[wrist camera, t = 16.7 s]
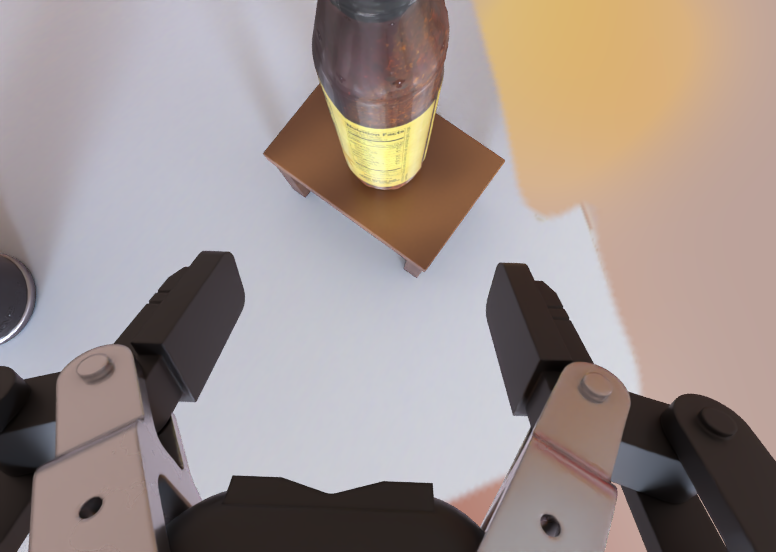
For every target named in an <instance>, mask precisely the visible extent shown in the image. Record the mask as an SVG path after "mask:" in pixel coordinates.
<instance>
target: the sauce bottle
mask: <svg viewBox="0 0 776 552" xmlns="http://www.w3.org/2000/svg"><path fill="white" fill-rule="evenodd" d="M448 40H449V21H448V11H447V9H446V7H445V1H444V0H318V1H317V8H316V15H315V22H314V30H313V37H312V53H313V60H314V64H315V68H316V72H317V75H318V78H319V81H320V84H321V86H322V91H323V93H324V95H325V99H326V102H327V105H328V109H329V112H330V114H331V117H332V120H333V123H334V126H335V130H336V132H337V135H338V138H339V141H340V144H341V147H342V150H343V153H344V156H345V159H346V161H347V164H348V166H349V168H350V169H351V170H352V172H353V173H354V174H355V175H356V176H357V177H358V178H359V179H360V180H361V181H362V182H363V183H364V184H365V185H367V186H369V187H373V188H376V189H383V190H389V189H398V188H400V187H402V186H403V185H405V184H407V183H408V182H409V181H410V180H411V179H412V178H413V177H414V176H415V175H416V174H417V173H418V172H419V170H420V169H421V167H422V163H423V161H424V159H425V156H426V153H427V149H428V144H429V140H430V135H431V131H432V127H433V121H434V117H435V113H436V108H437V104H438V99H439V94H440V90H441V85H442V81H443V75H444V61H445V59H446V52H447V48H448Z"/></svg>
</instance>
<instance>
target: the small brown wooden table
mask: <svg viewBox="0 0 776 552" xmlns="http://www.w3.org/2000/svg"><path fill="white" fill-rule="evenodd" d="M263 154H264V156H265V157H266V158H267V159H268V160H269V161H270V162H271V163H273V164H274V165H276V166H277V168H278V169H279V170H280V172H281V173H282V174H283V176H284V177H285V178H286V180H287V181H288V182H289V184H290V185H291V186H292V188H293V189H294V190H295V191H297V192H298V193H300V194H301V195H302V196H304V197H306V196H307V195H308V194H309V192H310V191H312V192H313V193H314V194H316V195H317V196H319V197H320V198H321V199H323V200H324V201H325V202H327V203H328V204H330V205H331V206H332V207H334V208H335V209H337V210H338V211H339V212H341V213H342V214H344V215H345V216H346V217H348V218H349V219H350V220H352V221H353V222H355V223H356V224H357V225H359V226H360V227H362V228H363V229H364V230H366V231H367V232H369V233H370V234H371V235H373V236H374V237H375V238H377V239H378V240H380V241H381V242H382V243H384V244H385V245H387V246H388V247H389V248H391V249H392V250H394V251H395V252H396V253H398V254H399V255H400V256H402V257H403V258H405V259H406V260H407V261H406V264H405V267H404V269H405V270H406V271H408V272H409V273H410V274H412V275H413V276H414V277H416V278H417V277H418V276H419V274H420V273H421V272H422V271H423V272H425V271H426V270H427V268H428V267H429V266H430V264H431V263H432V261H433V260H434V259H435V257H436V256H437V255H438V253H439V252H440V250H441V249H442V248H443V246H444V245H445V243H446V242H447V241H448V239H449V238H450V237H451V235H452V234H453V232H454V231H455V230H456V228H457V227H458V226H459V224H460V223H461V221H462V220H463V219H464V217H465V216H466V215H467V213H468V212H469V210H470V209H471V208H472V206H473V205H474V204H475V202H476V201H477V199H478V198H479V197H480V195H481V194H482V192H483V191H484V190H485V188H486V187H487V186H488V184H489V183H490V181H491V180H492V179H493V177H494V176H495V175H496V173H497V172H498V170H499V169H500V168H501V166H502V165H503V164H504V162H505V160H504V159H503V158H501V157H500V156H498V155H497V154H495V153H494V152H492V151H491V150H489V149H488V148H486V147H485V146H484V145H482V144H481V143H479V142H478V141H476V140H475V139H473V138H472V137H470V136H469V135H467V134H466V133H464V132H463V131H462V130H460V129H459V128H457V127H456V126H454V125H453V124H451V123H450V122H448V121H447V120H445V119H444V118H442V117H441V116H439V115H438V114H437V113H435V117H434V121H433V127H432V131H431V135H430V140H429V144H428V149H427V153H426V156H425V159H424V161H423V163H422V167H421V169H420V170H419V172H418V173H417V174H416V175H415V176H414V177H413V178H412V179H411V180H410V181H409V182H408V183H407V184H405V185H403V186H402V187H400V188H398V189H389V190H383V189H376V188H373V187H369V186H367V185H365V184H364V183H363V182H362V181H361V180H360V179H359V178H358V177H357V176H356V175H355V174H354V173H353V172H352V170H351V169H350V168H349V166H348V164H347V161H346V159H345V156H344V153H343V150H342V147H341V144H340V141H339V138H338V135H337V132H336V130H335V126H334V123H333V120H332V117H331V114H330V112H329V109H328V105H327V102H326V99H325V95H324V93H323V91H322V86H321V84H320V83H319V85H318V86H317V87H316V88H315V90H314V91H313V92H312V93H311V95H310V96H309V97H308V98H307V100H306V101H305V102H304V103H303V104H302V106H301V107H300V108H299V109H298V111H297V112H296V113H295V114H294V116H293V117H292V118H291V119H290V121H289V122H288V123H287V124H286V126H285V127H284V128H283V129H282V130H281V132H280V133H279V134H278V135H277V137H276V138H275V139H274V140H273V142H272V143H271V144H270V145H269V147H268V148H267V149H266V150H265V152H264V153H263Z"/></svg>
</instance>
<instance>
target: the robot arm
mask: <svg viewBox="0 0 776 552" xmlns="http://www.w3.org/2000/svg"><path fill="white" fill-rule="evenodd" d="M35 299H36V290H35V284H34V280H33V278H32V276H31V274H30V272H29V270H28V269H27V268H26V267H25V266H24V264H22V263H21V262H20V261H19V260H17V259H16V258H14V257H12V256H9V255H6V254H1V253H0V345H1V344H3V343H5V342H7V341H9V340H10V339H12V338H13V337H15V336H16V335H17V334H18V333H19V332H20V331H21V330H22V329H23V328H24V326H25V325H26V324H27V322H28V321H29V319H30V317H31V315H32V312H33V309H34V306H35ZM244 302H245V293H244V288H243V285H242V282H241V278H240V275H239V272H238V269H237V265H236V262H235V259H234V256H233V255H232V253H230V252H221V251H202V252H201V253H200V254H199V255H198V256H197V257H196V259H195V260H194V261H193V263H192V264H191V265H190V266H189V267H184V268H182V269H181V270H179V271H178V272H176V273H175V274H173V275H172V276H170V277H169V278H168V279H167V280H166V281H165V282H164V283H163V285H162V286H161V287H160V288H159V290H158V293H155V294H154V296H153V297H152V298H151V299H150V300H149V304H146V305H145V306H144V308H143V309H142V310H141V311H140V312H139V314H138V315H137V316H136V317H135V319H134V320H133V321H132V322H131V323H130V325H129V326H128V327H127V328H126V329H125V331H124V332H123V333H122V334H121V335H120V337H119V338H118V339H117V340H116V341H115V343H114V344H110V345H104V346H100V347H97V348H94V349H91V350H89V351H87V352H85V353H83V354H81V355H80V356H78V357H76V358H75V359H74V360H72V361H71V362H70V363H69V364H68V365H67V366H66V367H65V368H64V369H63V370H62V371H61V372H57V373H52V374H48V375H43V376H38V377H33V378H29V379H24V380H23V379H22V378H21V377H20V376H19V375H18V374H17V373H16V372H15V371H14V370H13V369H11V368H9V367H5V366H0V552H17V551H18V549H19V548H20V546H21V544H22V543H23V541H24V540H25V538H26V537H27V535H28V533H29V532H30V533H29V550H28V552H604V551H605V547H606V543H607V539H608V535H609V531H610V527H611V522H612V518H613V514H614V510H615V505H616V501H617V488H616V486H615V485H613V484H611V482H614V483H617V484H619V485H621V487H622V490H623V492H624V495H625V497H626V500H627V502H628V505H629V507H630V510H631V512H632V515H633V517H634V520H635V522H636V525H637V527H638V530H639V532H640V535H641V537H642V540H643V542H644V545H645V547H646V550H647V552H776V461H775V460H774V459H773V457H772V456H771V455H770V453H769V452H768V451H767V449H766V448H765V447H764V445H763V444H762V443H761V441H760V440H759V439H758V438H757V436H756V435H755V434H754V432H753V431H752V430H751V428H750V427H749V426H748V425H747V423H746V422H745V421H744V420H743V419H742V418H741V417H740V416H738V415H737V414H736V413H735V412H734V411H732V410H731V409H729V408H728V407H726V406H725V405H723V404H721V403H720V402H718V401H715V400H713V399H711V398H708V397H705V396H702V395H697V394H684V395H681V396H679V397H678V398H676V400H674V401H673V403H672V404H671V405H670V404H666V403H663V402H660V401H656V400H653V399H650V398H646V397H643V396H640V395H637V394H634V393H631V392H628V391H627V389H626V387H625V386H624V384H623V383H622V382H621V381H620V380H619V379H618V378H617V377H616V376H615V375H614V374H612V373H611V372H609V371H608V370H606V369H604V368H603V367H600V366H598V365H595V364H594V363H593V361H592V359H591V358H590V356H589V354H588V352H587V350H586V348H585V346H584V344H583V343H582V341H581V339H580V337H579V335H578V333H577V331H576V329H575V328H574V326H573V324H572V322H571V321H569V316H568V314H567V313H566V311H565V309H563V305H562V303H561V301H560V300H559V298H558V296H557V294H556V293H555V292H554V291H553V290H552V289H551V288H550V287H549V286H548V285H547V284H545V283H544V282H543V281H535V280H534V278H533V276H532V274H531V272H530V270H529V268H528V266H527V265H526V264H523V263H499V264H498V265H497V267H496V270H495V274H494V278H493V281H492V285H491V288H490V292H489V295H488V299H487V304H486V317H487V322H488V325H489V329H490V333H491V336H492V340H493V344H494V347H495V351H496V355H497V358H498V362H499V366H500V369H501V373H502V377H503V380H504V384H505V387H506V391H507V395H508V398H509V402H510V406H511V409H512V413H513V415H514V416H528V418H529V422H530V425H531V427H530V429H529V431H528V433H527V435H526V437H525V439H524V441H523V443H522V445H521V447H520V449H519V451H518V453H517V455H516V457H515V459H514V461H513V463H512V465H511V467H510V469H509V471H508V473H507V475H506V477H505V479H504V481H503V483H502V485H501V487H500V489H499V491H498V493H497V495H496V497H495V499H494V501H493V503H492V505H491V506H490V508H489V510H488V512H487V514H486V516H485V518H484V520H483V522H482V524H481V526H480V527H479V526H478V525H477V524H476V523H475V522H474V521H472V520H471V519H470V518H469V517H468V516H467V515H466V514H464V513H463V512H461V511H460V510H458V509H457V508H455V507H454V506H452V505H450V504H448V503H446V502H444V501H442V500H439V499H437V498H434V496H433V483H414V482H388V481H383V482H379V483H375V484H371V485H367V486H363V487H359V488H355V489H351V490H347V491H343V492H339V493H334V494H328V493H324V492H322V491H319V490H316V489H313V488H310V487H307V486H305V485H302V484H299V483H296V482H293V481H291V480H288V479H285V478H282V477H258V476H232V479H231V482H230V485H229V487H228V490H227V491H225V492H222V493H219V494H216V495H214V496H211V497H209V498H207V499H205V500H203V501H202V499H201V497H200V494H199V492H198V490H197V488H196V486H195V484H194V482H193V479H192V476H191V473H190V470H189V466H188V462H187V458H186V454H185V451H184V447H183V443H182V439H181V435H180V431H179V428H178V424H177V420H176V417H175V415H174V413H173V411H174V409H175V407H176V405H177V403H178V402H179V401H182V402H196V401H197V399H198V397H199V395H200V393H201V391H202V389H203V387H204V385H205V383H206V382H207V380H208V378H209V376H210V374H211V372H212V370H213V368H214V366H215V364H216V362H217V360H218V358H219V356H220V354H221V352H222V350H223V348H224V346H225V344H226V342H227V340H228V338H229V336H230V334H231V332H232V330H233V328H234V326H235V324H236V322H237V320H238V318H239V316H240V314H241V312H242V310H243V307H244ZM697 494H698V495H699V497H700V499H701V500H702V502H703V504H704V506H705V508H706V509H707V511H708V513H709V515H710V517H711V518H712V520H713V522H714V524H715V526H716V528H717V529H718V531H719V533H720V535H721V537H722V539H723V541H724V543H725V545H726V546H725V545H724V543H723V541H722V539H721V537H720V536H719V534H718V532H717V530H716V528H715V526H714V524H713V523H712V521H711V519H710V517H709V516H708V514H707V512H706V510H705V508H704V506H703V504H702V503H701V501H700V499H699V497H698V495H697Z"/></svg>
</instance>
